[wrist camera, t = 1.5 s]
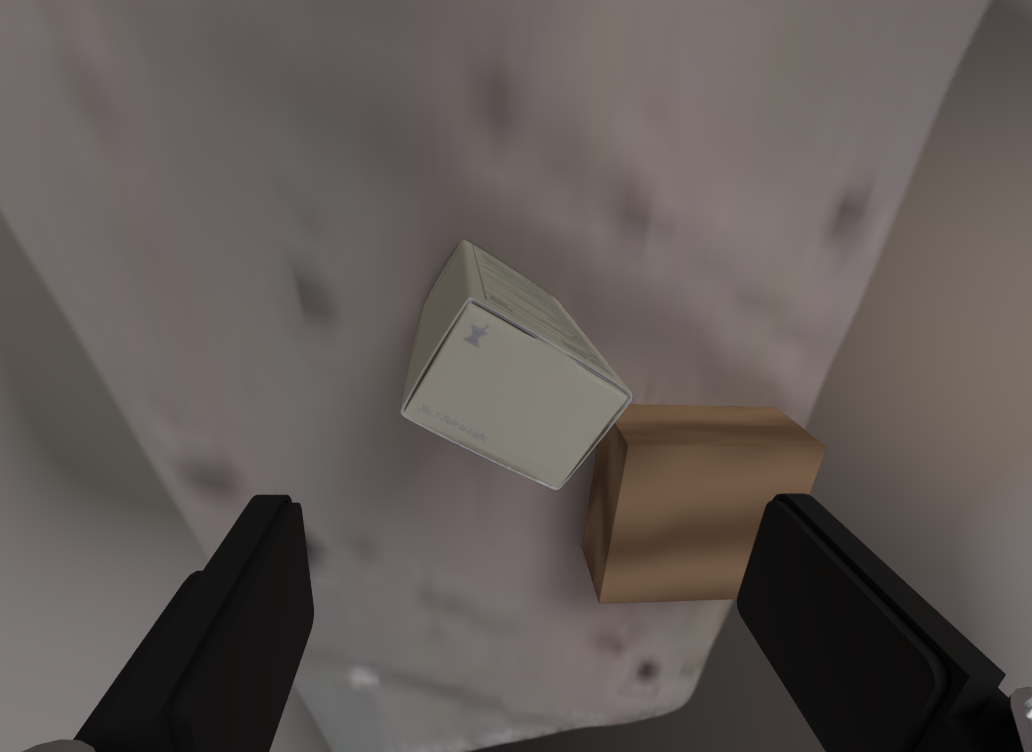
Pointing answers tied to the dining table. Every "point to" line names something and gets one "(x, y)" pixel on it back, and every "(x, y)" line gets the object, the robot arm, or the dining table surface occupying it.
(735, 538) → the light wood square block
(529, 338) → the skincare box
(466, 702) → the dining table surface
